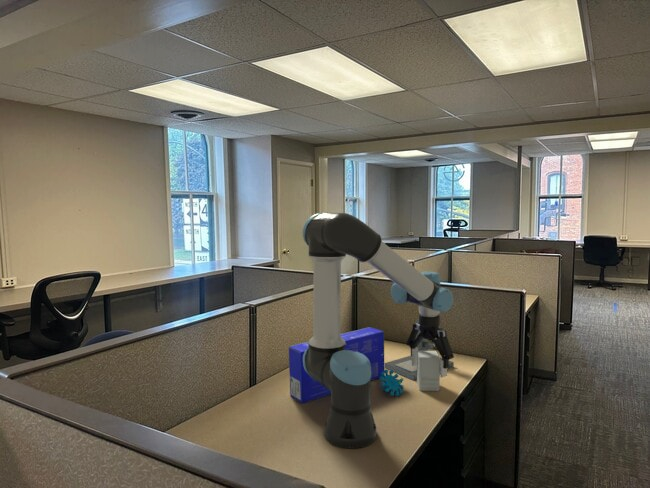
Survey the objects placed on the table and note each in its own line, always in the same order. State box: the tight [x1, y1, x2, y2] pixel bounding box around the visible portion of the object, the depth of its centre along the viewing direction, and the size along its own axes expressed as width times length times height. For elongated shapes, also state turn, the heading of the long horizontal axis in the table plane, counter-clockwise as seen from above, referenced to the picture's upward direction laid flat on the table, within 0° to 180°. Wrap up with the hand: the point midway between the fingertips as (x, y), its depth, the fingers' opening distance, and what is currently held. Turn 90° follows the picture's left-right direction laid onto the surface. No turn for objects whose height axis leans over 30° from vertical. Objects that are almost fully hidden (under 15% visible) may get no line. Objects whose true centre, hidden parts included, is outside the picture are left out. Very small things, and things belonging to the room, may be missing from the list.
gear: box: [378, 369, 405, 397], centre depth 154 cm, size 11×6×10 cm
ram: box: [432, 325, 444, 348], centre depth 179 cm, size 5×5×8 cm
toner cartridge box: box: [288, 326, 385, 405], centre depth 158 cm, size 39×8×18 cm, turn 126°
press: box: [384, 318, 455, 381], centre depth 176 cm, size 24×16×18 cm, turn 126°
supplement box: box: [416, 350, 441, 392], centre depth 157 cm, size 7×7×13 cm
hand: (428, 370), depth 158 cm, fingers open, 13 cm apart
